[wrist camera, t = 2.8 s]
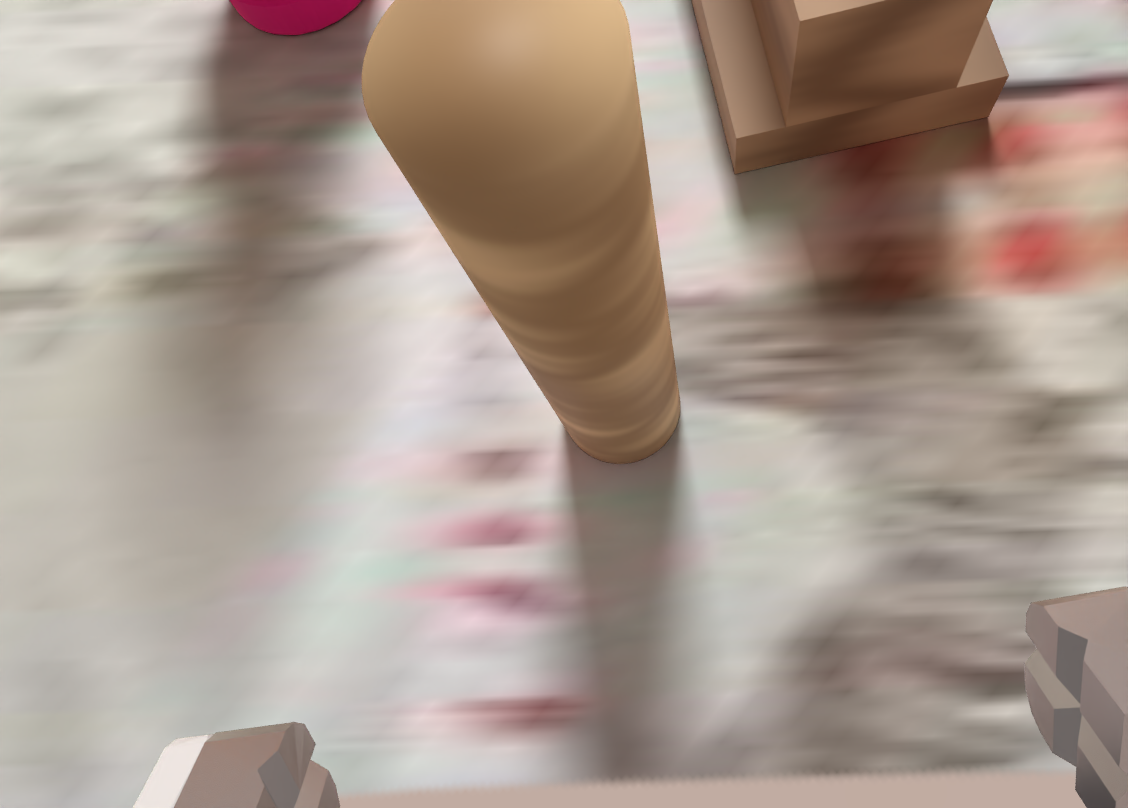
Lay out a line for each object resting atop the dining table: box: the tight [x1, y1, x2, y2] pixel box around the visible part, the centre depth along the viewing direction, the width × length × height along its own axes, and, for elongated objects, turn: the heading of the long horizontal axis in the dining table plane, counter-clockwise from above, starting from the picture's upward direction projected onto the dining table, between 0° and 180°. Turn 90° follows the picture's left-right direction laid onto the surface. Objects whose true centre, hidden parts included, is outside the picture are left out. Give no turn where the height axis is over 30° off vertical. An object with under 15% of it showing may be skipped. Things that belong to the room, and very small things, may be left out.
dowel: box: [362, 0, 680, 464], centre depth 19 cm, size 4×4×16 cm
